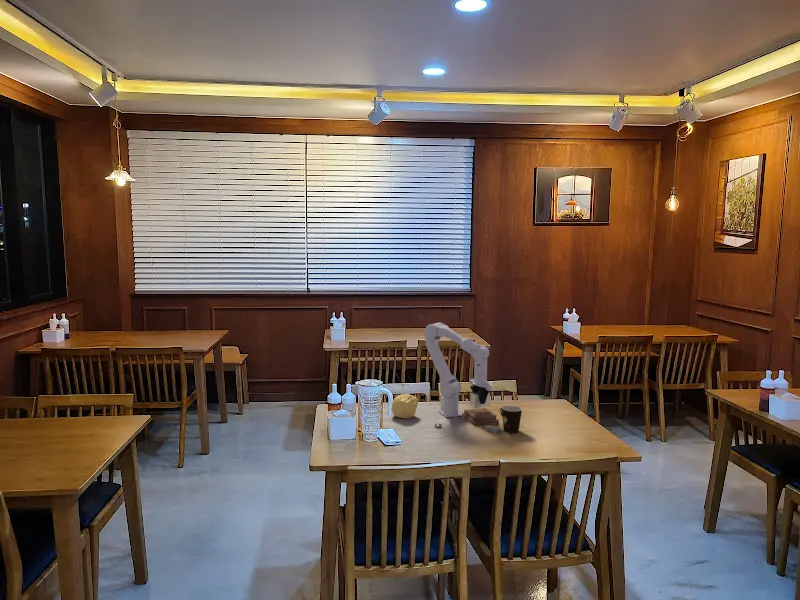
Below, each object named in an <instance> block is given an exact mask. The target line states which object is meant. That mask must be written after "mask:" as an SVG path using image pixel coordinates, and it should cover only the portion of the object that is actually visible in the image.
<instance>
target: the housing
mask: <svg viewBox="0 0 800 600" xmlns="http://www.w3.org/2000/svg"><path fill="white" fill-rule="evenodd" d="M469 394H470V395H469V396H470V397H469V398H470V399H469V404H470V405H469V406H470V407H472V408H473V409H480V408H486V407H490V406H491V404H490V403H491V402H490V401H491V392H489V394H488V396H487V398H486V402H485V404H481V403H480V394H479V392H474V393H473V392H470V393H469Z"/></svg>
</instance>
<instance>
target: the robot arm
mask: <svg viewBox="0 0 800 600" xmlns="http://www.w3.org/2000/svg"><path fill="white" fill-rule="evenodd" d="M423 334H424V335H425V337H424V338H425V346H426V349H427V351H428V353H429V356H430V358H431V360H432V362H433V364H434V367H435V369H436V372H437V373H438V376H439V377H440V381H439V386H440V393H441V397H440V410H438V412H439V413H440V414H441V415H442V416H444V417H445V418H453V417H462V413H459V399H460V398H459V397H460V395H459V393H460V392H461V391H462V385H461V382H459V380H458V379H457V377H456V376H455V375H453V374H452V373H451V371H450V369H449V366H448V364H447V361H446V360H445V357H444V354H443V353H442V351H441V348H440V346H439V343H440V341H441V338H442V337H443V338H448V339H449V340H452V341H454V342H455V343H456V344H458V345H459V346H460V348H461V349H462V350H463V351H465V352H467V353H468V354H470V355H471V356H472V358H473V360H474V366H473V367H474V369H473V370H474V372H473V374H474V376H473V378H469V384H470V386H469V387H470V389H471V393H474V392H479V394H480V403H481V404H485V402H486V398H487V396H488V394H489V393H491V391H492V390H493V386H492V385H490V384H489V383H488V358H489V356H490V349H489V348H488V347H487V346H486V345H481V344H480V343H477V342H475V341H474V340H473V338H471V337H465V338H464V337H463V336H461V335H460V334H458V333H457V332H455V331H454V330H453V329H451V328H450V327H449V326H448V325H447V324H445V323H443V322H436V323H431V324H428V325H427V326H425V329H424V332H423Z"/></svg>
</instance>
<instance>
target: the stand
mask: <svg viewBox="0 0 800 600" xmlns="http://www.w3.org/2000/svg"><path fill="white" fill-rule="evenodd" d="M461 418H463V419H465V420H466V421H467V422H469V423H470V424H471V425H473V426H474V427H476V426H477V427H478V426H487V425H496V424H498V425H499V424H500V420H499V419H498V418H497V414H495V413H494V412H492V411H491V410H489V409H488V408H486V407H480V408H471V409H464V410H463V412H462V413H461Z"/></svg>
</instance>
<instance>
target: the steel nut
mask: <svg viewBox="0 0 800 600" xmlns="http://www.w3.org/2000/svg"><path fill="white" fill-rule="evenodd" d="M442 425H443V424H441V423H435V424H434V428H435V429H442Z"/></svg>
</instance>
